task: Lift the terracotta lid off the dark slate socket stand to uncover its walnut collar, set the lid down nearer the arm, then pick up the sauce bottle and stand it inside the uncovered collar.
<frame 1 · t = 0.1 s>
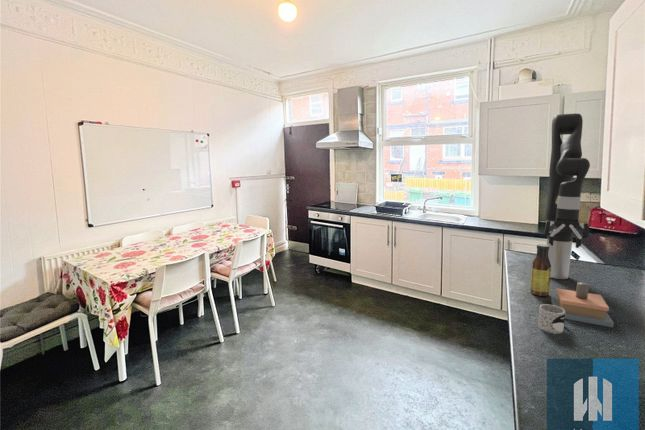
hand: (564, 246, 135), 17 cm above the counter, tool pointing down, fingers open, 8 cm apart
mug: (553, 327, 104), on the counter
socket stand: (579, 312, 113), on the counter
sauce bottle: (538, 294, 130), on the counter
lid: (580, 300, 113), point 4 cm above the counter, touching socket stand
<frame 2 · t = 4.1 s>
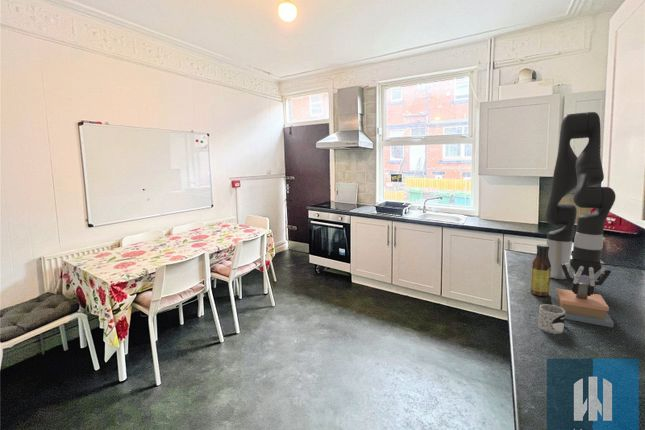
hand: (581, 294, 112), 7 cm above the counter, tool pointing down, fingers closed on lid, 3 cm apart
lid: (580, 300, 113), point 4 cm above the counter, touching gripper, socket stand
everything else where it was.
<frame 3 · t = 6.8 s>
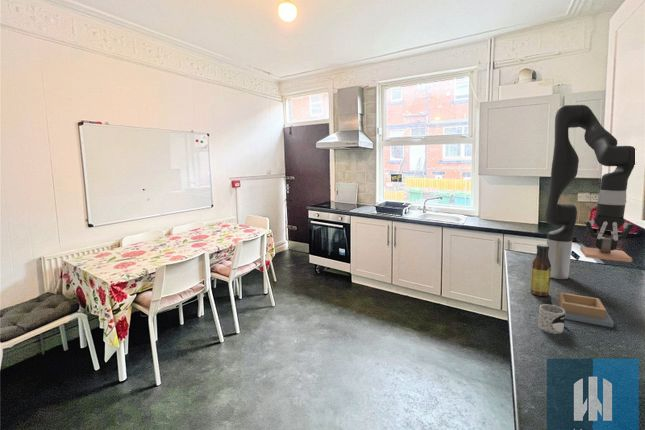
hand: (605, 249, 119), 20 cm above the counter, tool pointing down, fingers closed on lid, 3 cm apart
lid: (604, 255, 119), point 18 cm above the counter, touching gripper
everything else where it was.
when the fingers open (4 cm above the counter, at t = 9.5 s): lid drops 2 cm, on the counter.
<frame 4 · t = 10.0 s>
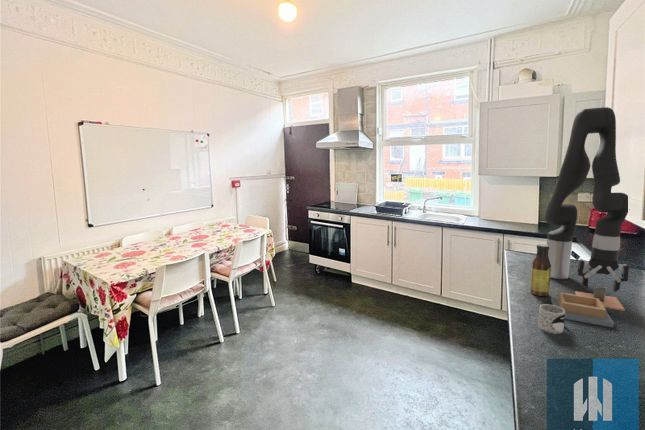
hand: (599, 288, 122), 5 cm above the counter, tool pointing down, fingers open, 8 cm apart
lid: (598, 302, 122), on the counter
everything else where it was.
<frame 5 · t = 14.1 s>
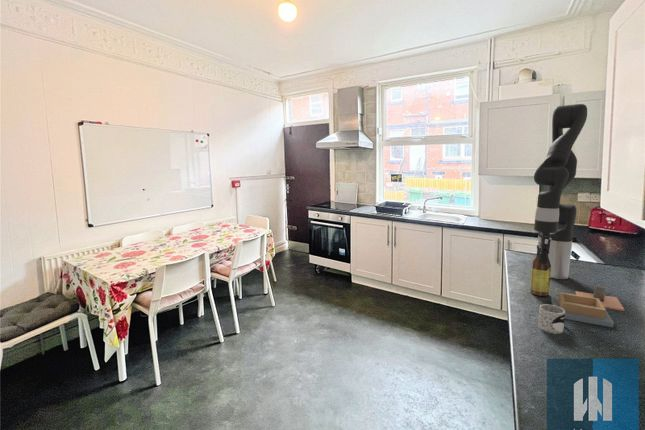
hand: (542, 260, 128), 14 cm above the counter, tool pointing down, fingers open, 6 cm apart
sauce bottle: (538, 294, 130), on the counter, touching gripper
everything else where it was.
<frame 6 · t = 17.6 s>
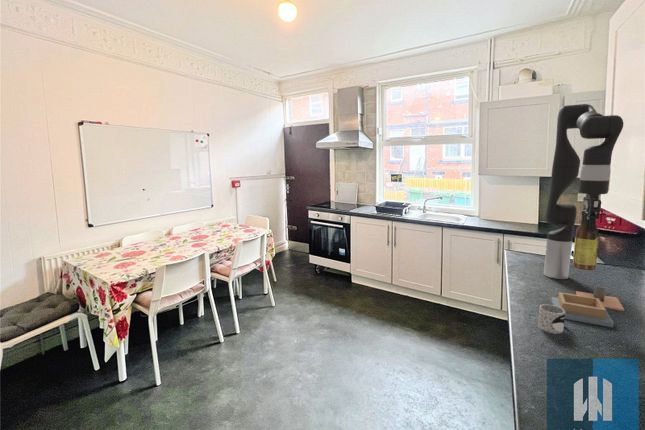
hand: (588, 229, 109), 30 cm above the counter, tool pointing down, fingers closed on sauce bottle, 5 cm apart
sauce bottle: (583, 268, 111), point 16 cm above the counter, touching gripper
everything else where it was.
when the fingers open (16 cm above the counter, at t = 20.6 s): sauce bottle drops 1 cm, resting on socket stand.
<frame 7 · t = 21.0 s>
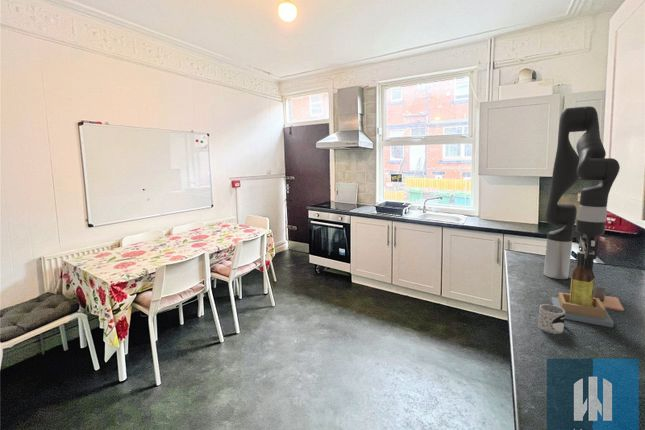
hand: (585, 265, 111), 17 cm above the counter, tool pointing down, fingers open, 8 cm apart
sauce bottle: (579, 308, 113), point 1 cm above the counter, touching socket stand
everything else where it was.
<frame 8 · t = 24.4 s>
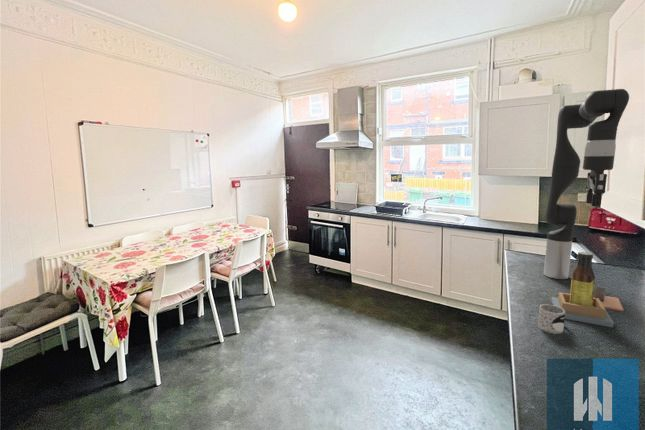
hand: (592, 204, 107), 38 cm above the counter, tool pointing down, fingers open, 8 cm apart
nothing on the counter moved.
at the end: sauce bottle 0.1 cm off-centre on the socket stand, point 1.4 cm above the socket stand's base; sauce bottle tilted 0°; lid moved 17.6 cm from its start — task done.
